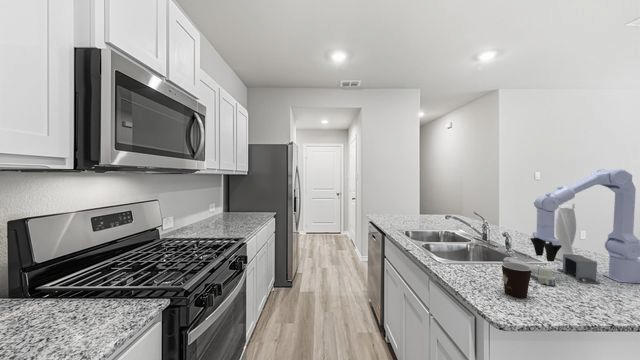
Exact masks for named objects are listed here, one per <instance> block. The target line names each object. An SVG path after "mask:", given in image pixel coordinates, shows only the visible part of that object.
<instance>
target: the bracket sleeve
mask: <svg viewBox="0 0 640 360" xmlns="http://www.w3.org/2000/svg"><path fill="white" fill-rule="evenodd" d="M597 265H598V261H595V260H593V259H591V258H588V257H585V256H583V255H580V254H574V255H571V254H563V262H562V268H557V271H558V272H560V273H563V274H566V275H575V280H577V282H578V283H580V284H584V285H585V284H589V285H601V283H600V281H597V273H598V269H597V267H598V266H597Z"/></svg>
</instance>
